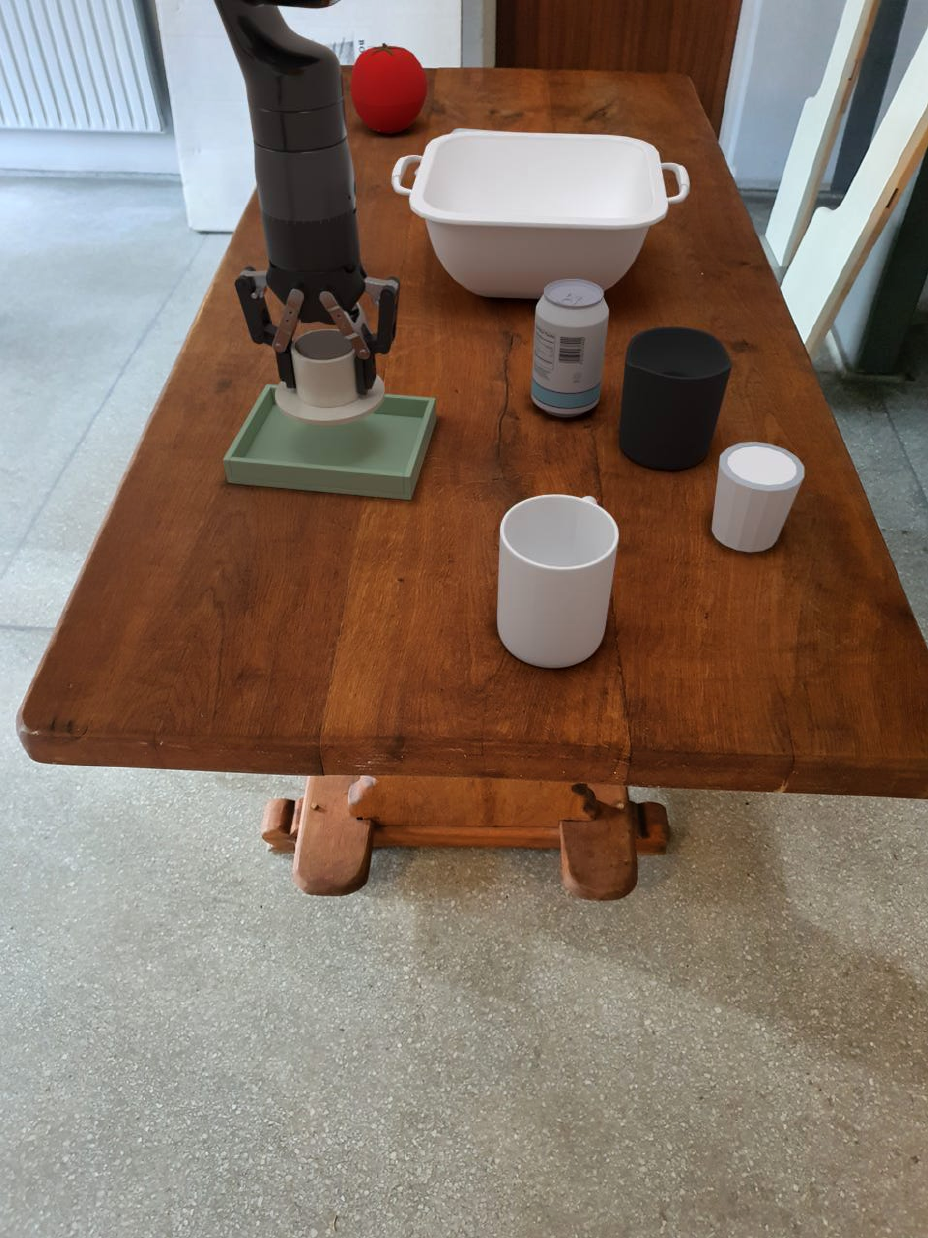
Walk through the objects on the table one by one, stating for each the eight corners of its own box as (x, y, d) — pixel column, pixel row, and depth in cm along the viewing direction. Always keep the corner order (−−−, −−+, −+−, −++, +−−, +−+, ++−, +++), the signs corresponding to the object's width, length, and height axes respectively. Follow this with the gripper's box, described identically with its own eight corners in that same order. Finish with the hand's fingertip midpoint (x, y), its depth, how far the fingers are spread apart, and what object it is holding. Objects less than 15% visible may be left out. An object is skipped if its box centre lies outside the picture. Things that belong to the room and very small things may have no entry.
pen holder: (730, 442, 91) (752, 348, 84) (680, 487, 86) (699, 391, 79) (647, 408, 96) (662, 316, 89) (595, 449, 91) (606, 354, 84)
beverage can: (610, 398, 97) (623, 286, 89) (578, 430, 93) (589, 316, 85) (551, 379, 100) (559, 269, 91) (517, 409, 96) (522, 296, 87)
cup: (478, 649, 72) (480, 547, 65) (539, 556, 79) (547, 456, 72) (581, 685, 69) (594, 583, 62) (633, 585, 77) (650, 484, 70)
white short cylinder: (792, 519, 83) (812, 452, 78) (775, 566, 79) (796, 498, 74) (714, 499, 85) (730, 432, 80) (695, 543, 81) (709, 476, 76)
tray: (227, 483, 87) (222, 459, 85) (270, 406, 96) (266, 383, 94) (411, 500, 85) (409, 476, 83) (436, 420, 94) (435, 397, 92)
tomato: (348, 140, 153) (341, 52, 144) (359, 117, 161) (352, 32, 152) (424, 142, 152) (422, 53, 143) (431, 118, 160) (429, 33, 152)
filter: (261, 421, 84) (252, 368, 80) (293, 364, 91) (285, 313, 87) (371, 430, 82) (367, 377, 79) (395, 372, 90) (392, 321, 86)
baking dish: (665, 233, 126) (680, 131, 118) (681, 336, 106) (701, 223, 97) (412, 225, 129) (408, 124, 120) (381, 324, 108) (374, 212, 99)
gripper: (203, 211, 72) (240, 403, 84) (387, 222, 71) (398, 416, 82) (234, 175, 77) (265, 360, 89) (407, 185, 76) (415, 372, 88)
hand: (329, 386), depth 86 cm, fingers closed on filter, 6 cm apart
